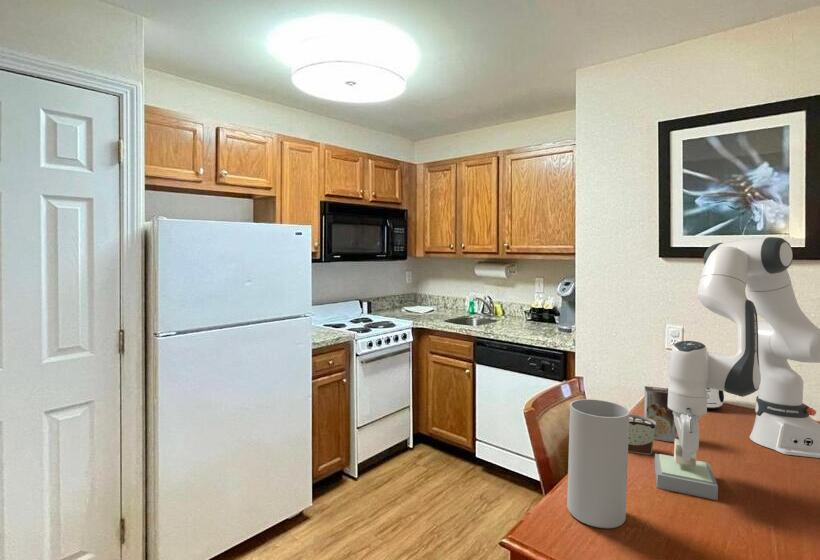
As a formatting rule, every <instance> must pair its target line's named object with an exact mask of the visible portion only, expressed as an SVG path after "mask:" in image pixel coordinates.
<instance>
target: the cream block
mask: <svg viewBox="0 0 820 560" xmlns="http://www.w3.org/2000/svg"><path fill="white" fill-rule="evenodd" d="M673 444H674V446H673V449H674V450H673V456H674V459H675V463H677V464H682V465H688V466H693V467H696V461H697V452H693V451H692V452H691V459H690V460H684V459H683V458H682V448H681V444H680V440H679V438H677V439H675V442H673Z"/></svg>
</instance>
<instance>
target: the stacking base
mask: <svg viewBox="0 0 820 560" xmlns="http://www.w3.org/2000/svg"><path fill="white" fill-rule="evenodd" d="M654 473H655V482H656V488H657V489H660V490H665V491H671V492H675V493H679V494H684V495H690V496H696V497H698V498H699V497H700V498H704V499H709V500H713V501H718V495H719V485H718V483H717V479H716V478H715V475H714V472H713V470H712V467H711V464H710V463H709V462H705V461H701V460H696V467H693V466H688V465H682V464H677V463H675V459H674V455H668V454H662V453H654Z"/></svg>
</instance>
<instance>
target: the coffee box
mask: <svg viewBox="0 0 820 560" xmlns="http://www.w3.org/2000/svg"><path fill="white" fill-rule="evenodd" d="M643 403H644V404H643V407H644V408H643V417H647V418H649V419H652V420H653V421H655V422H656V424H657V427H658V430H657V429H655V435H654V441H656V440H657V441H665V442H668V443H669V442H670V443H675V439H678V433H677V430H676V426H675V422H674V415H673V410H671V409H669V408H668V388H667V387H666V388H665V387H657V386H656V387H655V386H647V385H646V386H645V385H644V402H643Z"/></svg>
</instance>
